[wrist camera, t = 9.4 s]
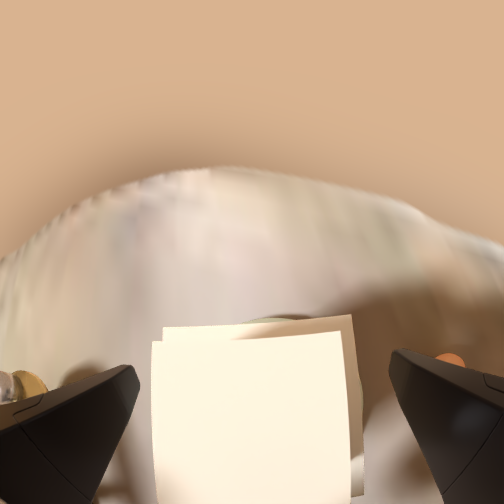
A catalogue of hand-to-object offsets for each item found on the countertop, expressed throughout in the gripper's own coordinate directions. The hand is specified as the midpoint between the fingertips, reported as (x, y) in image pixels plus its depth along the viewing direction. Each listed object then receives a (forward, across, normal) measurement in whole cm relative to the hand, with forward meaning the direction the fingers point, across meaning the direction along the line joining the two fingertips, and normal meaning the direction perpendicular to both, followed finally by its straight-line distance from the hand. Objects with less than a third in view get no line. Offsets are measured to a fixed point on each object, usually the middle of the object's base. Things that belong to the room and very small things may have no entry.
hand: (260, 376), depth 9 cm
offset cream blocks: (+5, 0, -7) cm, 8 cm away
